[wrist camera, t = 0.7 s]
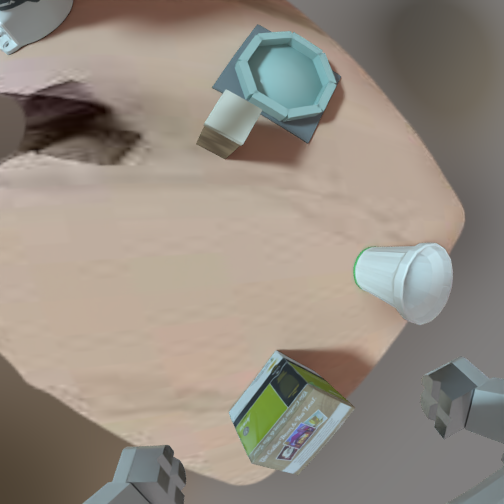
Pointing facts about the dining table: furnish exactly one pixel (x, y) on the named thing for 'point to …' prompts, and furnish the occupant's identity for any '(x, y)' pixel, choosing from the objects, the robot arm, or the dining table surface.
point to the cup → (407, 278)
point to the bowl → (285, 76)
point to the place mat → (297, 127)
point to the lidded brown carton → (228, 124)
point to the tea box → (288, 415)
